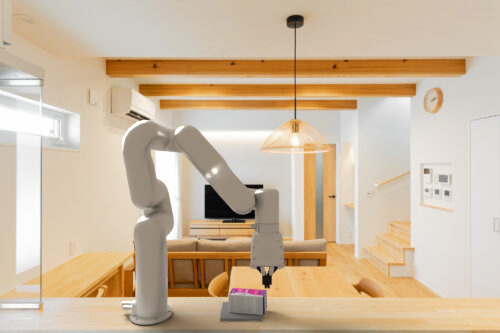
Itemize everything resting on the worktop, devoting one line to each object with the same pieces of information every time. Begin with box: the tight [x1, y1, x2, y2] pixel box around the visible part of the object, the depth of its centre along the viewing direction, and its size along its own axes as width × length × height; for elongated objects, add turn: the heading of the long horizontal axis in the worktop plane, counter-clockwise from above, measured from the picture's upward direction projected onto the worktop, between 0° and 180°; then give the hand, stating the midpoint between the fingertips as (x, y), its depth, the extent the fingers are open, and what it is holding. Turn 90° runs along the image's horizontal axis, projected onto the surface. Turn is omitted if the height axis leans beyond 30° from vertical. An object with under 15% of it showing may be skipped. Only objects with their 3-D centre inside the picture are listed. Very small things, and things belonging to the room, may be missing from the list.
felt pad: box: [219, 301, 263, 322], centre depth 98 cm, size 12×12×1 cm
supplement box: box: [228, 287, 268, 316], centre depth 98 cm, size 6×6×12 cm
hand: (266, 286), depth 97 cm, fingers closed
